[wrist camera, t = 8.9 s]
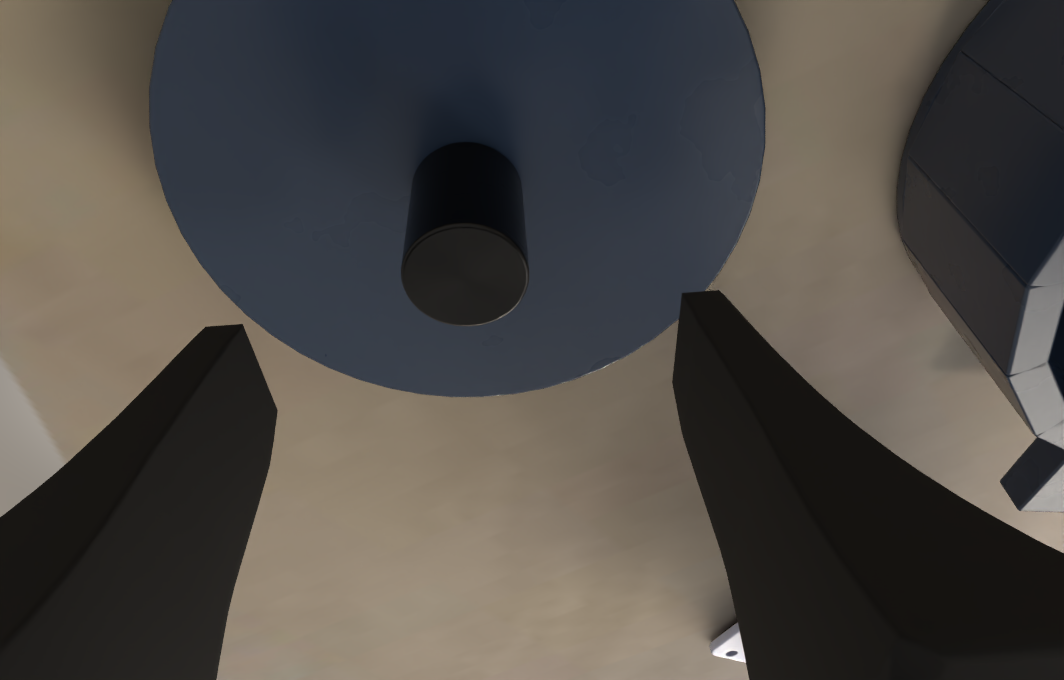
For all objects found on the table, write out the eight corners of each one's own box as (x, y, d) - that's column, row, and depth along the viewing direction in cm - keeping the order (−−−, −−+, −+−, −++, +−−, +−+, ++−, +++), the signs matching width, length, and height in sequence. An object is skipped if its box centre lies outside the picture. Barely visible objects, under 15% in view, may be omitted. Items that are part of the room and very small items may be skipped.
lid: (846, -123, 14) (961, -61, 10) (671, 381, 22) (704, 500, 19) (92, -229, 12) (-49, -197, 9) (216, 358, 21) (167, 483, 17)
